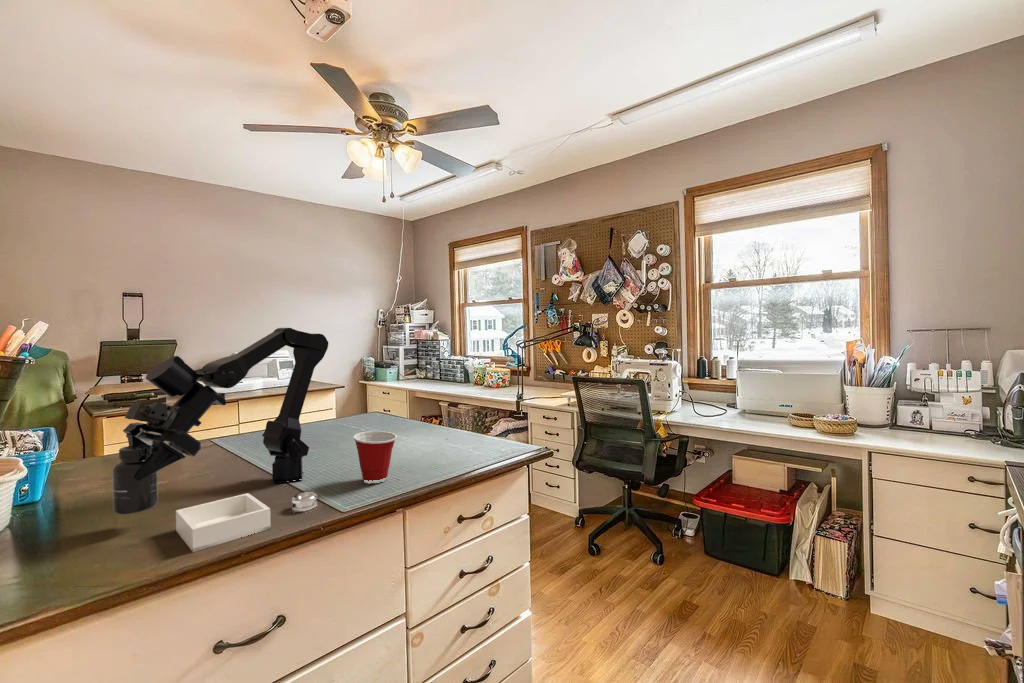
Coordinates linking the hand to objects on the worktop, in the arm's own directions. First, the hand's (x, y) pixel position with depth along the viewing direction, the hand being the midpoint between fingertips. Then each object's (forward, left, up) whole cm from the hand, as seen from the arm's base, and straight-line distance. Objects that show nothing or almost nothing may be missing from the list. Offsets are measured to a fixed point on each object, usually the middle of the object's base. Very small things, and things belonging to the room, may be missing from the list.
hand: (126, 476), depth 86 cm
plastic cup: (-47, -13, -11) cm, 50 cm away
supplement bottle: (-1, -1, -7) cm, 7 cm away
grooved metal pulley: (-31, 0, -11) cm, 33 cm away
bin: (-17, +6, -11) cm, 21 cm away
